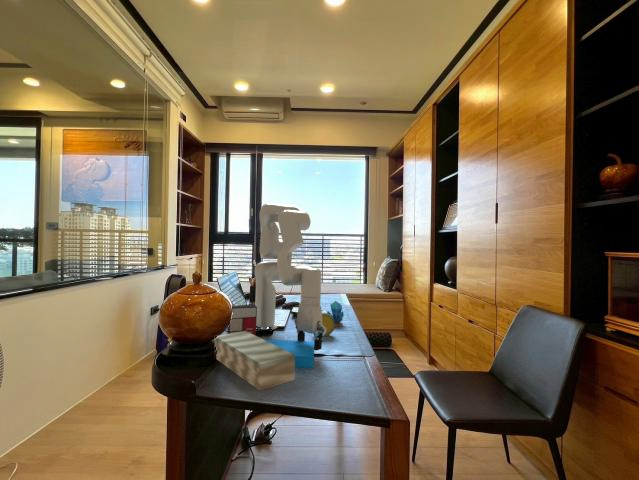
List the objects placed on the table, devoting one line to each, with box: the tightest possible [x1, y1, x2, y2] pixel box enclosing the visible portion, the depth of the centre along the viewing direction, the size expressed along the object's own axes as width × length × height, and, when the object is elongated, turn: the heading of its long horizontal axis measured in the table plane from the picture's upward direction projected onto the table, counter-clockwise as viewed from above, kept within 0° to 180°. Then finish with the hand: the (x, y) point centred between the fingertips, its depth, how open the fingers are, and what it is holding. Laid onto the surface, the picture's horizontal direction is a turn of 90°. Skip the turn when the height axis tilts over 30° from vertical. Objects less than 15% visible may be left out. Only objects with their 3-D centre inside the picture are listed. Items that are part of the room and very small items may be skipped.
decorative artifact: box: [317, 312, 336, 337], centre depth 145 cm, size 10×7×10 cm
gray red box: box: [226, 304, 257, 336], centre depth 128 cm, size 11×4×15 cm, turn 114°
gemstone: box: [326, 300, 345, 328], centre depth 162 cm, size 7×9×12 cm
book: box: [264, 339, 315, 370], centre depth 114 cm, size 17×4×25 cm
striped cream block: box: [214, 331, 296, 391], centre depth 104 cm, size 31×12×8 cm, turn 41°
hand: (309, 346), depth 120 cm, fingers open, 9 cm apart
